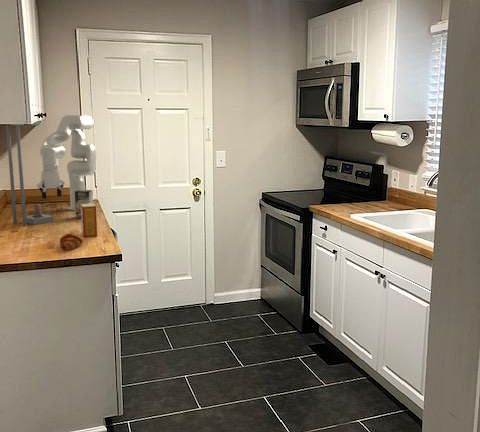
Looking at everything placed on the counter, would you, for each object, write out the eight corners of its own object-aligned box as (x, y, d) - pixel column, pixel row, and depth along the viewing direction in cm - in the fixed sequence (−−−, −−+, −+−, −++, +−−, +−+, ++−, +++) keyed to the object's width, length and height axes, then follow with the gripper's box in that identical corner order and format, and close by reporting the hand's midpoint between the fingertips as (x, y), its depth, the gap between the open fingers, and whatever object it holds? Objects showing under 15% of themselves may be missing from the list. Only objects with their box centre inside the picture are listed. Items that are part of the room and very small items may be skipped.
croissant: (71, 248, 258) (62, 234, 256) (89, 238, 257) (80, 224, 256) (59, 258, 237) (50, 243, 235) (79, 248, 237) (70, 232, 235)
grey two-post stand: (35, 219, 309) (28, 120, 298) (46, 222, 302) (40, 121, 291) (12, 223, 298) (4, 120, 287) (23, 226, 291) (16, 121, 280)
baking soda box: (81, 233, 273) (80, 203, 270) (94, 232, 275) (93, 202, 272) (83, 237, 264) (82, 206, 261) (97, 236, 267) (95, 205, 264)
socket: (41, 218, 312) (41, 213, 311) (53, 221, 305) (53, 216, 304) (22, 221, 302) (22, 216, 302) (34, 224, 295) (33, 219, 295)
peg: (39, 220, 306) (38, 203, 304) (43, 221, 304) (42, 204, 302) (33, 221, 303) (31, 204, 301) (36, 222, 301) (35, 205, 299)
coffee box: (75, 217, 316) (73, 191, 313) (79, 215, 322) (78, 189, 319) (90, 218, 315) (88, 191, 312) (94, 216, 322) (92, 189, 319)
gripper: (59, 166, 314) (61, 195, 318) (32, 169, 301) (34, 198, 305) (66, 167, 310) (68, 196, 313) (39, 170, 297) (41, 200, 300)
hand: (51, 197), depth 309 cm, fingers open, 9 cm apart
